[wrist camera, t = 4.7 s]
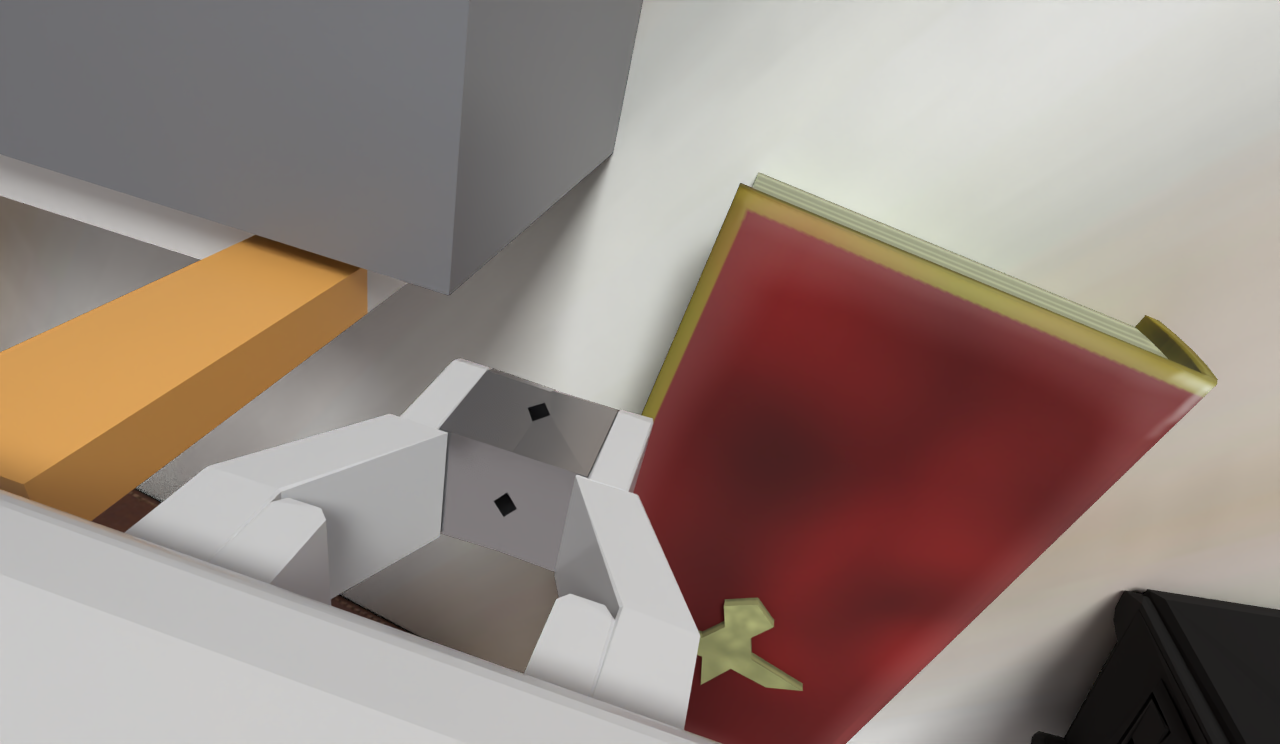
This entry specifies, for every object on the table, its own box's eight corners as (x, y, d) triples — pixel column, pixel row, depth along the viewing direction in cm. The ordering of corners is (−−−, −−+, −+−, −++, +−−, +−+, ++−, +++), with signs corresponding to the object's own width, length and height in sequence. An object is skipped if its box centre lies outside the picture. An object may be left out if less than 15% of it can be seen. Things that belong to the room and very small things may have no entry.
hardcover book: (1158, 316, 18) (1241, 398, 15) (809, 702, 30) (808, 800, 26) (752, 149, 18) (737, 190, 15) (561, 597, 30) (527, 681, 26)
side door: (203, 61, 19) (-783, 198, 7) (531, 158, 18) (23, 483, 7) (208, 97, 20) (-703, 279, 8) (526, 193, 19) (50, 552, 7)
